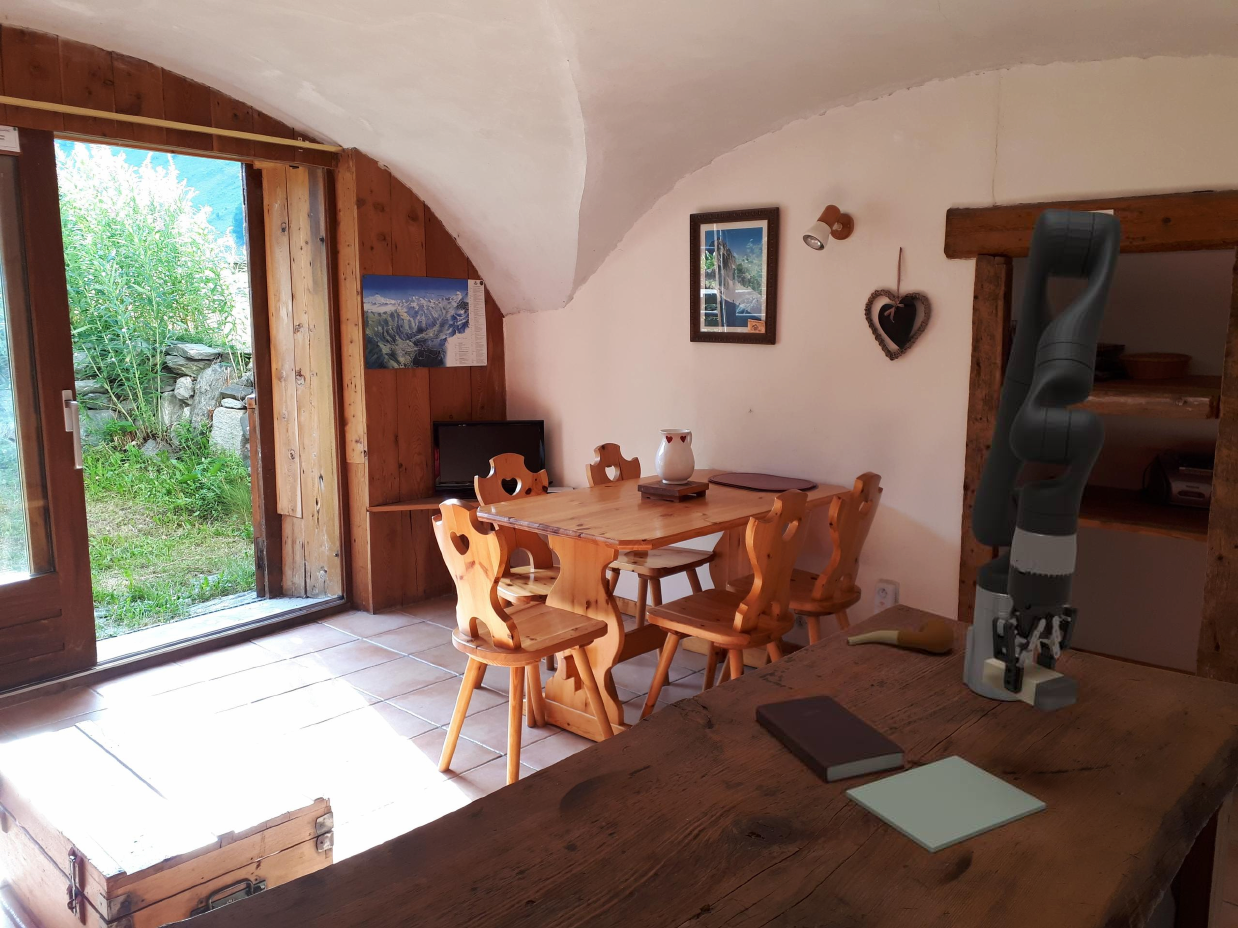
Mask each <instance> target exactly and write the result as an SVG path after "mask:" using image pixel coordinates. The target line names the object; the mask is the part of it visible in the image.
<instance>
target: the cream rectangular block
mask: <svg viewBox="0 0 1238 928" xmlns="http://www.w3.org/2000/svg"><path fill="white" fill-rule="evenodd" d="M1016 656H1017V655H1016ZM1023 667H1024V676H1023V682H1022V690H1021V693H1018V694H1014V693H1012V692H1010V691H1008V690H1006V689H1005V688H1004V683H1003V682H1004V673H1005V663H1004V662H1002V661H999V660H996V659H994V658H993V659H989V660H985V661H984V670H983V679H982V682H984V683H986V684H989V685H991V686H993V687H995V688H997V689H999V690H1001V691H1004V692H1006V693H1008V694H1010V695H1012V696H1014V697H1016V698H1018V699H1021V700H1020V701H1023V702H1025V703H1027V704H1030V705H1031V706H1033V707H1036V708H1038V709H1040V710H1041V711H1042V710H1043V711H1044V712H1047V713H1049V712H1052V711H1055V710H1057V709H1060V708H1061V709H1062V708H1064V707H1067V706H1071V705H1075V704H1076V701H1077V693H1078V685H1079V684H1078V683H1079V680H1076V679H1074V678H1071V677H1069V676H1066V675H1064V674H1062V673H1059V672H1057V671H1053V670H1050V669H1047V668H1045V667H1043V666H1040V665H1038V664H1036V663H1035V662H1034V661H1032V662H1031V661H1029V660H1027V659H1026V661H1025V663H1024V666H1023Z"/></svg>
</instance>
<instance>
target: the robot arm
mask: <svg viewBox="0 0 1238 928" xmlns="http://www.w3.org/2000/svg"><path fill="white" fill-rule="evenodd" d="M1122 231H1123V229H1122V223H1121V221H1120V218H1119V217H1118V216H1116V214H1112V213H1108V212H1100V211H1088V210H1087V211H1086V210H1075V209H1061V208H1046V209H1045V210H1043V211H1042V212H1041V213H1040V214H1039V216H1038V217H1037V220H1036V222H1035V225H1034V228H1033V231H1032V236H1031V240H1030V246H1029V252H1028V258H1027V263H1026V264H1027V265H1026V272H1025V277H1024V282H1023V283H1024V285H1023V290H1022V291H1023V292H1022V296H1021V297H1022V298H1021V303H1020V304H1021V305H1020V310H1019V315H1018V321H1017V326H1016V330H1015V334H1014V338H1013V343H1012V345H1011V350H1010V354H1009V358H1008V363H1007V366H1006V370H1005V375H1004V379H1003V384H1002V388H1001V392H1000V393H1001V394H1000V399H999V405H998V411H997V416H996V422H995V425H994V430H993V434H992V439H991V442H990V447H989V450H988V454H987V457H986V460H985V464H984V467H983V470H982V473H981V476H980V479H979V483H978V485H977V488H976V492H975V494H974V499H973V503H972V507H971V515H970V517H971V519H970V524H971V525H970V526H971V531H972V535H973V536H974V539H975V540H976V542H977V543H979V544H980V545H982V546H986V547H990V548H991V547H995V548H996V547H997V548H1000V547H1001V548H1002V547H1005V548H1008V549H1006V550H1005V552H1003V553H1002V554H1001V555H1000V556H997V557H996V558H994V559H992V560H990V561H988V562H985V563H983V564H982V565H980V566H979V568H978V571H977V576H976V579H977V580H976V588H975V589H976V591H975V601H974V602H975V603H974V613H973V625H970V626H968V628H967V630H966V642H965V651H964V663H963V675H962V676H963V677H962V683H963V684H966V685H967V686H968V687H969V689H971V690H972V691H973V692H974V693H977V694H978V695H980V696H983V697H985V698H990V699H994V700H999V701H1022V700H1021V699H1018V698H1016V697H1014V696H1012V695H1010V694H1008V693H1006V692H1004V691H1001V690H999V689H997V688H995V687H993V686H991V685H989V684H986V683H984V682H982V679H983V670H984V661H985V660H989V659H993V658H994V659H996V660H999V661H1002V662H1004V663H1005V673H1004V682H1003V683H1004V688H1005V689H1006V690H1008V691H1010V692H1012V693H1014V694H1018V693H1021V690H1022V682H1023V676H1024V667H1023V666H1024V663H1025V661H1026V659H1027V660H1029V661H1031V662H1034V661H1033V658H1034V649H1035V648H1036V645H1037V649H1038V651H1039V653H1037V655H1036V664H1038V665H1040V666H1043V667H1045V668H1047V669H1050V670H1053V671H1055V670H1056V669H1055V668H1056V660H1057V659H1058V658H1059V657H1060V655H1061V652H1062V651H1064V652H1067V651H1069V649H1070V646H1071V641H1072V638H1073V635H1074V629H1075V625H1076V622H1077V618H1078V613H1079V609H1078V607H1076V606H1072V605H1069V603H1070V602H1071V600H1072V592H1073V582H1074V574H1075V568H1076V567H1075V566H1076V558H1077V532H1078V523H1079V515H1080V508H1081V501H1082V498H1083V493H1084V489H1085V486H1086V484H1087V481H1088V478H1089V477H1090V473H1091V471H1092V469H1093V467H1094V466H1095V463H1096V461H1097V459H1098V456H1099V455H1100V452H1101V451H1102V448H1103V445H1104V442H1105V439H1106V430H1105V429H1106V428H1105V424H1104V422H1103V420H1102V418H1101V417H1100V416H1099V414H1097V413H1096V412H1095V411H1092V410H1088V409H1079V408H1077V409H1076V408H1068V407H1072V406H1076V405H1079V404H1081V403H1083V402H1085V401H1086V400H1087V399H1088V398H1089V397H1090V396H1091V393H1092V392H1093V387H1094V379H1095V369H1096V368H1095V367H1096V360H1097V349H1098V342H1099V336H1100V332H1101V327H1102V323H1103V320H1104V317H1105V313H1106V310H1107V306H1108V302H1109V298H1110V295H1111V290H1112V288H1113V287H1112V286H1113V283H1114V277H1115V273H1116V268H1117V265H1118V260H1119V255H1120V250H1121V245H1122ZM1050 278H1057V279H1059V278H1060V279H1070V280H1077V281H1078V280H1079V281H1087V282H1086V284H1085V286H1084V288H1083V289H1082V291H1081V292H1080V293H1079V295H1077V297H1076V298H1075V299H1074V300H1073V301H1072V302H1071V303H1070V304H1069V305H1068V306H1067V307H1066V308H1065V309H1064V310H1063V311H1062V312H1060V313H1059V314H1058V315H1057V316H1056V317H1055V316H1054V312H1053V309H1052V306H1051V302H1050V298H1049V289H1048V286H1049V281H1050ZM1027 462H1028V463H1035V464H1036V463H1038V464H1049V465H1058V466H1066V467H1067V466H1068V468H1067V470H1066V471H1065V472H1064V473H1063V474H1062V475H1060V476H1058V477H1055V478H1049V479H1039V480H1030V481H1028V482H1026V483H1024V484H1023V485H1022V486H1021V487H1016V484H1017V482H1018V481H1017V480H1018V478H1019V476H1020V474H1021V472H1022V470H1023V468H1024V466H1025V464H1026V463H1027ZM1061 632H1063V635H1062V637H1061ZM1016 655H1017V656H1016ZM1055 672H1056V671H1055Z"/></svg>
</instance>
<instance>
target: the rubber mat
mask: <svg viewBox="0 0 1238 928" xmlns="http://www.w3.org/2000/svg"><path fill="white" fill-rule="evenodd" d="M845 796H846V797H847V798H849V799H850V800H852V801H853V802H855V803H856V804H858V805H859V806H861V807H862V808H864V809H865V810H867V811H868V812H870V813H871V814H873V815H874V816H875V817H877V818H879V819H880V820H881V821H883V822H885V823H886V824H888V825H890V826H891V827H892V828H893V829H895V830H897V831H898V832H900V833H901V834H902V835H905V836H906V837H907V838H909V839H910V840H912V841H914V842H915V843H917V844H918V845H920V846H921V847H923V848H924V849H926V850H927V851H928V852H930V853H931V854H932V853H935V852H937V851H940V850H943V849H946V848H948V847H950V846H953V845H955V844H958V843H960V842H963V841H966V840H969V839H970V838H973V837H977V836H979V835H982V834H983V833H986V832H989V831H991V830H993V829H997V828H998V827H1002V826H1003V825H1006V824H1009V823H1011V822H1014V821H1017V820H1019V819H1022V818H1024V817H1027V816H1029V815H1032V814H1035V813H1037V812H1039V811H1042V810H1044V809H1046V808H1047V803H1045V802H1043V801H1041V800H1040V799H1037V798H1036V797H1034V796H1032V795H1031V794H1029V793H1027V792H1024V791H1023V790H1021V789H1019V788H1017V787H1015V786H1014V785H1012V784H1010V783H1008V782H1006V781H1004V780H1003V779H1000V778H999V777H997V776H996V775H995V776H994V775H993V774H991V773H989V772H987V771H985V770H984V769H982V768H980V767H978V766H976V765H974V764H972V763H970V762H969V761H967V760H966V759H963V758H962V757H960V756H957V755H955V754H954V755H953V756H949V757H947V758H946V757H945V758H943V759H940V760H938V761H934V762H932V763H928V764H926V765H922V766H919V767H915V768H913V769H910V770H907V771H904V772H900V773H898V774H895V775H891V776H888V777H886V778H882V779H879V780H877V781H876V780H875V781H873V782H870V783H866V784H864V785H861V786H858V787H855V788H850V789H848V790H846V791H845Z"/></svg>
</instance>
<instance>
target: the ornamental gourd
mask: <svg viewBox="0 0 1238 928" xmlns="http://www.w3.org/2000/svg"><path fill="white" fill-rule="evenodd" d="M954 641H955V633H954V629H953V628H952V627H951V625H950V624H949V623H948V622H946V621H945V620H944V619H939V618H935V617H931V618H927V619H925V620H924V621H923V622H922V623H921V624H920V626H919V630H918V631H912V630H910V631H909V630H876V631H872V632H869V633H865V634H859V635H855V636H852V637H851V636H849V637H847V638H846V643H847V645H848V646H855V645H860V644H864V643H870V642H871V643H872V642H879V643H887V644H892V645H893V644H894V645H898V646H900V647H910V648H919V649H923V650H926V651H927V652H931V653H936V654H942V653H946V652H947V651H949V650H950V649H951V647H953V645H954Z"/></svg>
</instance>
